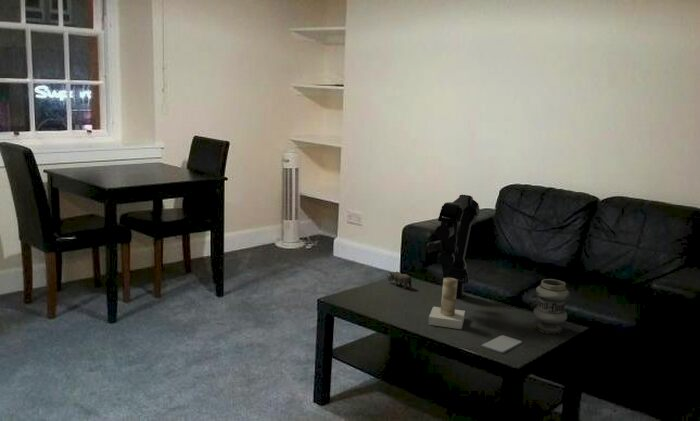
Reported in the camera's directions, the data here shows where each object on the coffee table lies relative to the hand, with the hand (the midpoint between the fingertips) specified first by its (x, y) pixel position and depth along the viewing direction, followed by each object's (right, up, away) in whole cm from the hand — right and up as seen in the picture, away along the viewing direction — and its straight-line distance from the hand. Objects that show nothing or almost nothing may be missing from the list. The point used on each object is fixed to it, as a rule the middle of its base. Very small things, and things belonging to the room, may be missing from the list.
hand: (446, 274), depth 263 cm
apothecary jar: (+35, -19, -16) cm, 43 cm away
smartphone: (+14, -21, -33) cm, 42 cm away
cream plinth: (-2, -16, -14) cm, 22 cm away
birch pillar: (-2, -13, -15) cm, 20 cm away
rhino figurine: (-17, -8, +26) cm, 32 cm away
